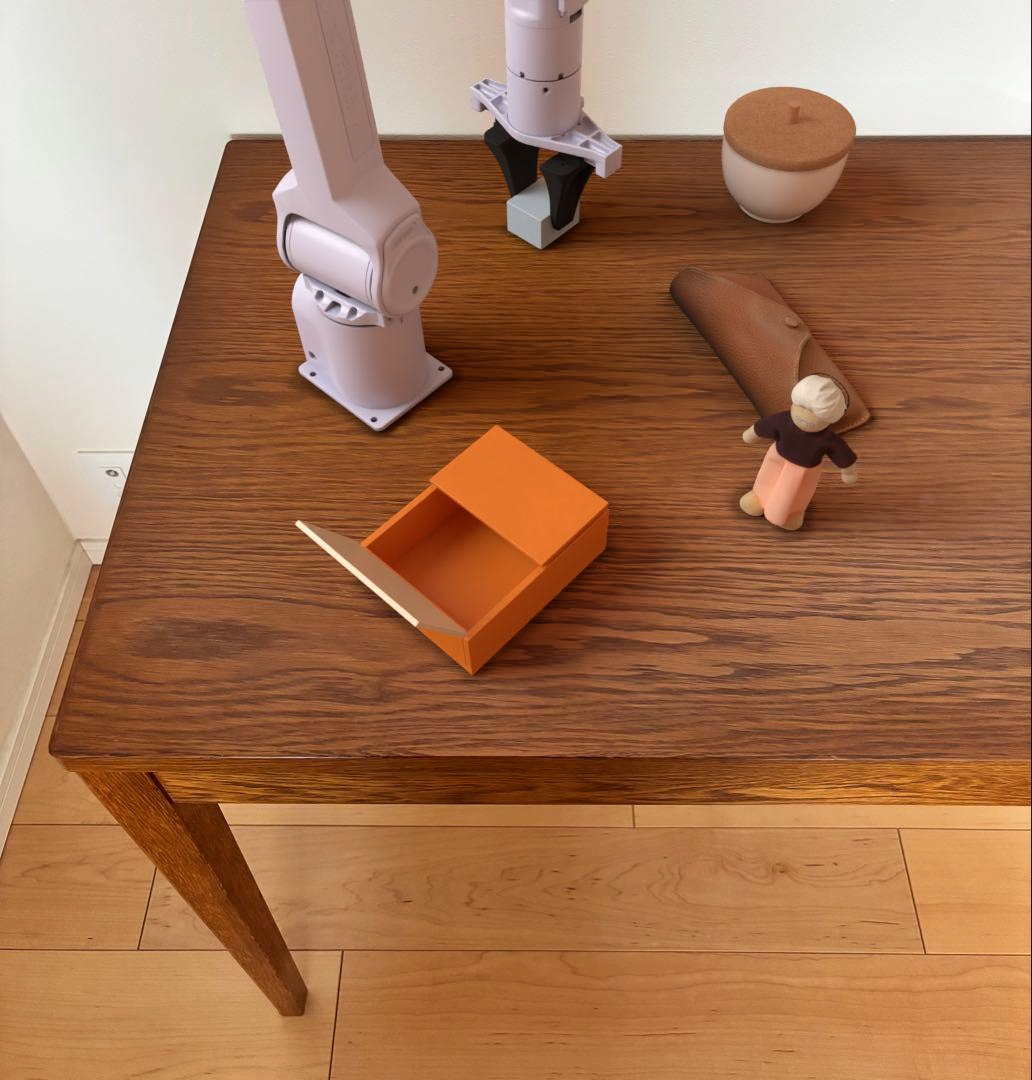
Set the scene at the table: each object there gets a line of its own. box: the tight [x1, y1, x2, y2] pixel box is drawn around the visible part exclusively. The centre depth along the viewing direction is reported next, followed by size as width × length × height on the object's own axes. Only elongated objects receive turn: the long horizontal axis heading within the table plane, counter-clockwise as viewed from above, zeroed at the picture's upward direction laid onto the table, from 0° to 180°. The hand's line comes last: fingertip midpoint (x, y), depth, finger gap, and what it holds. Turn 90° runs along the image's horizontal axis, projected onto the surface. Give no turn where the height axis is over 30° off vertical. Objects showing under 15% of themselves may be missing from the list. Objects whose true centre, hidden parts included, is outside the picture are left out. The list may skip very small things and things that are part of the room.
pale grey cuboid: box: [506, 176, 581, 250], centre depth 85 cm, size 5×4×3 cm
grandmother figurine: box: [739, 375, 859, 531], centre depth 63 cm, size 8×4×13 cm, turn 70°
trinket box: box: [720, 86, 857, 224], centre depth 84 cm, size 11×11×9 cm
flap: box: [294, 519, 467, 638], centre depth 57 cm, size 6×10×1 cm
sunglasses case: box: [668, 266, 872, 436], centre depth 75 cm, size 18×7×7 cm
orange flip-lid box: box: [359, 424, 610, 676], centre depth 64 cm, size 13×10×5 cm
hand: (543, 213), depth 85 cm, fingers closed on pale grey cuboid, 4 cm apart
